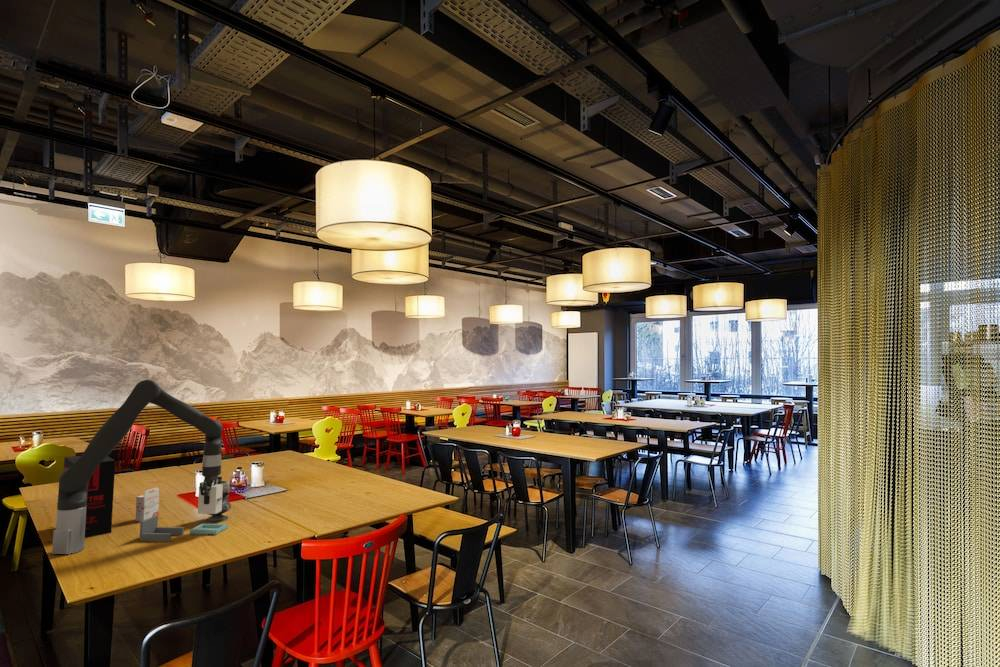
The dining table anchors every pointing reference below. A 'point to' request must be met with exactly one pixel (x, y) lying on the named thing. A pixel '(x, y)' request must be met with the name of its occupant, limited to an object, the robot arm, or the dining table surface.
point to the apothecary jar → (225, 505)
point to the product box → (98, 496)
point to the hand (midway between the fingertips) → (210, 502)
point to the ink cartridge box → (147, 504)
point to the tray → (208, 529)
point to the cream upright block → (211, 500)
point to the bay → (157, 530)
